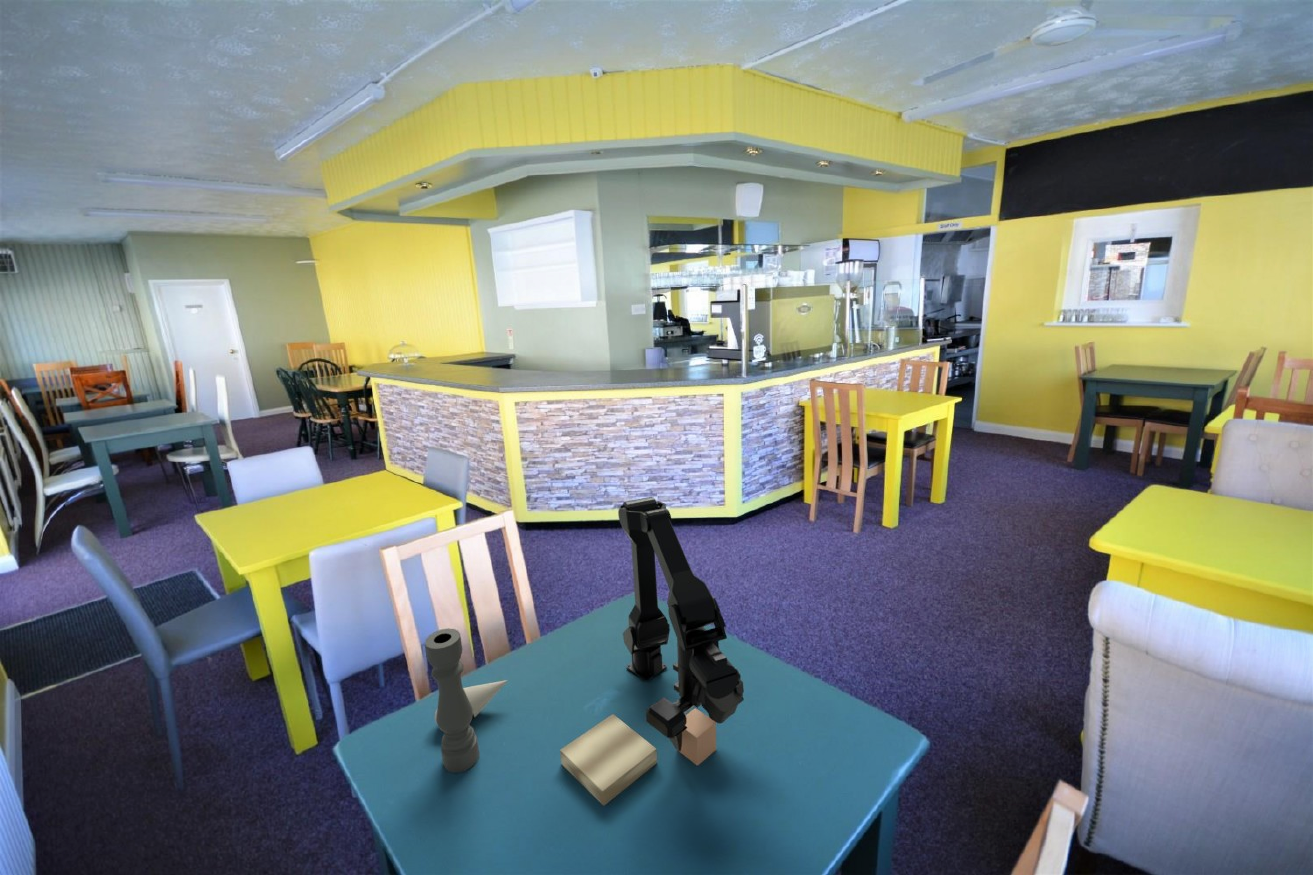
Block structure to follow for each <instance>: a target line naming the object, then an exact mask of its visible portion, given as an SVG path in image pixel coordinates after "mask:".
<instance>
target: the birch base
mask: <svg viewBox="0 0 1313 875" xmlns="http://www.w3.org/2000/svg"><path fill="white" fill-rule="evenodd" d="M559 752H560V754H559V755H560V763H561V765H562V766H563V767H564V768H565V769H566V770H567V771H568V772H569V773H570V774H571V775H572V776H573V777H574V778H575V779H576V780H577V781H578V782H579V783H580V784H581V786H583V787H584V788H585V789H586V790H587V791H588V792H589V793H590V794H591V795H592V796H593V797H594V798H595V799H596V800H597V801H598V802H599V803H600V804H601V805H602V806H604V807H605V806H606V805H607V804H608V803H610V802H611V800H613V799H614V798H616V797H617V796H618V795H619V794H621V793H622V792H623V791H624V790H625V789H627V788H628V787H629V786H631V785H632V784H633V783H634V782H635V781H637V780H638V779H639V778H640V777H641V776H643V775H644V774H645V773H647V772H648V771H649V770H650V769H651V768H653V767H654V766H655V765H656V764H658V755H657V754H658V753H657V752H658V751H657V748H656V747H655V746H653V745H652V744H651V743H650V742H649V741H647V740H646V738H643V736H641V735H640V734H639V733H637V732H636V731H635V730H634V729H632V728H631V727H629V726H628V725H627V724H626V723H625V722H624V721H622V720H621V719H620V718H618V717H617V716H616V715H615V714H614V713H612V714H611V715H609V716H608V717H606V718H605V719H604V720H602V721H600V722H599V723H598V724H596V725H595V726H593V727H592V728H590V729H589V730H587V731H586V732H585V733H583V734H582V735H579V736H578V737H577V738H575V739H574V740H572V741H571V742H569V743H568V744H567V745H565V746H564V747H562V748H561V749H560V750H559Z"/></svg>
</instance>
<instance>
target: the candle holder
mask: <svg viewBox="0 0 1313 875" xmlns="http://www.w3.org/2000/svg"><path fill="white" fill-rule="evenodd" d="M424 647H425V653H426V658H427V659H426V660H427V661H428V663H429V664H430V666H431V667H433V668H432V670H431V677H432V679H433V680H434V681H435V682H436V683H437V689H438V699H437V700H438V701H437V708H436V710H437V717H436V722H437V724H438V725H437V724H436V725H437V727H438V728H439V730H440V731H442V732H443V736H442V737H441V750H440V752H441V757H442V762H443V763H442V764H443V767H444V769H445V770H446V772H449V773H455V774H458V773H463V772H465V771H468V770H469V769H471V768H472V767H473V766H474V765H475V764H477V763H478V762H477V761H478V760H479V759H480V749H479V741H478V737H477V735H476V733H475V732H476V731H475V729H474V727H473V726H472V725H470V724H471V722H472V719H473V717H474V716H473V708H472V706H471V704H470V702H469V700H468V698H467V695H466V693H465V691H464V689H463V688H464V686H463V682H462V675H461V674H462V673H463V671H464V663H463V662H462V661H461V657H462V654H463V645H462V637H461V632H460V631H459V630H458V629H456V628H442V629H441V628H440V629H438V630H436V631H434V632H432V633H431V634H429V635H428V636H427V637H426V638H425V641H424ZM436 722H435V723H436Z"/></svg>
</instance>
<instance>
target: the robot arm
mask: <svg viewBox="0 0 1313 875" xmlns="http://www.w3.org/2000/svg"><path fill="white" fill-rule="evenodd" d="M617 513H618V514H617V515H618V521H619V523H620V525H621V529H622V530H623V531H624V533H625V534H626V536H627V537H628V538H629V539H630V546H631V549H630V550H631V560H632V574H633V575H632V576H633V577H632V578H633V590H634V605H633V608H632V609H631V611H630V613H629V615H628V627H627V628H626V629H625V630H624V631H623V632H622V639H623V643H624V645H625V647H626V648H627V650H628V652H629V654H630V655H631V663H629V664H627V665H626V669H627V670H628V671H629V672H630V673H633V674H635V675H636V676H637V677H638V678H640V679H641V680H643V681H644V682H647V681H649V680H651V679H652V678H654V677H655V676H657V675H659V674H660V673H661V672H664V670H666V669H667V667H668V665H667V664H666V663H664V662H663V654H662V647H661V646H664V645H665V646H666V645H668V641H669V638H670V631H671V628H670V624H671V626H672V628H673V631H674V634H675V636H676V641H677V643H676V646H677V649H676V650H677V661H676V662H675V663H673V664H672V670H674V671H675V672H676V673H677V676H678V677H677V678H678V681H677V682H675V683H674V684H673V690H674V691H676V692H677V693H678V695H679V697H680V698H678V699H677V700H676V701H674V702H672V701H670V700H668V699H667V698H666V697H662V698H660V699H659V700H657V701H656V702H654V703H653V704H652V705H650V706H649V707H647V708H646V709H645V710H646V711H645V715H646V716H645V718H646V723H648V724H649V725H651V726H652V728H654V729H655V730H656V731H658V732H659V733H661V734H662V735H663V736H665V737H666V738H667V739H668V738H669V740H670V742H671V744H672V745H673V747H674V749H675V750H676V751H678V752H679V751H681V747H682V732H683V731H684V730H686V729H687V727H686V726H685V725H686V723H687V720H686V713H689V712H690V711H691V710H693V708H694V707H696V709H698V708H699V707H700V706H701V707H702V708H703V710H704V711H706V713H708V717H709V718H711V719H712V720H714V721H715V722H716V724H722V723H724V722H725V721H726V720H727V719H729V718H730V717H731V716H732V715H734V714H735V713H736V711H737V708H738V706H739V705H740V704H741V703H742V702H744V699H745V698H744V695H743V694H744V690H745V688H744V682H743V680H742V679H741V677H742V676H741V673H740V671H739V670H738V669H737V668H735V666H734V664H732V662H730V660H729V659H728V657H727V656H726V655H725V653H723V652H722V650H721V649H720V646H719V642H720V641H724V640H727V639H728V637H727V634H726V629H725V628H726V627H727V624H726V623H725V620H724V617H723V614H722V611H721V609H720V607H719V606H720V605H719V603H718V602H717V599H716V598H715V596H714V595H712V593H711V592H710V589H709V588H708V586H707V584H706V582H704V581H703V580H701V579H700V578H699V577H697V576H696V575H694V572H693V570H692V569H691V568H692V567H691V566H690V564H689V561H688V559H687V557H686V555H685V552H684V550H683V548H682V545H681V543H680V540H679V539H678V536H677V534H676V532H675V530H674V527H673V521H672V515H671V513H670V510H669V509H667V505H666V503H665V502H662V501H659V500H656V498H654V496H649V497H644V498H643V497H642V498H638V499H634V500H633V499H632V500H628V501H624V502H623V503H622V504H621V505H620V507H619V508H618V512H617ZM656 558H657V560H658V563H659V566H660V569H661V571H662V574H663V576H664V579H665V581H666V584H667V586H668V590H669V591H668V595H667V596H668V597H667V602H666V604H667V607H668V609H667V610H668V616H669V621H670V623H669V622H668V619H667V617H666V615H665V614H664V613H663V612H662V610H661V608H660V607H659V603H658V602H659V601H658V586H657V585H658V584H657V569H656V566H657V565H656ZM710 625H713V626H714V627H713V628H710V629H706V628H705V627H706V626H710ZM635 675H634V676H635Z"/></svg>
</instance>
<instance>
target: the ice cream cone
mask: <svg viewBox="0 0 1313 875" xmlns="http://www.w3.org/2000/svg"><path fill="white" fill-rule="evenodd" d="M508 681H509V679H507V680H502V681H501V680H499V681H496V682H495V681H494V682H489V683H484V684H478V685H477V684H476V685H471V686H468V687H463V689H464V691H465V693H466V695H467V698H468V700H469V702H470V704H471V706H472V708H473V716H472V717H473V718H476V717H477V716H478V715H479V713H480V712H481V711H482V710H483V709H484V708H485V707H486V706H487V705H488V704H489V702H490V701H491V700H492V699H493V698H494V697H495V696H496V695H497V694H498V692H499V691H500V690H501V689H502V688H503V687H504V686H505V684H506V683H508ZM436 717H437V709H436V710H435V712H434V721H435V724H436V725H437V726H438V724H437V722H436Z"/></svg>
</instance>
